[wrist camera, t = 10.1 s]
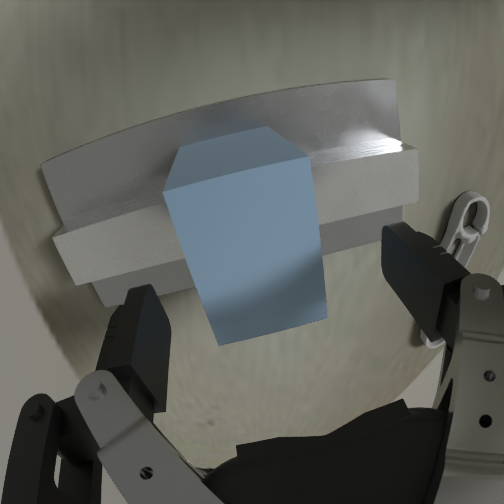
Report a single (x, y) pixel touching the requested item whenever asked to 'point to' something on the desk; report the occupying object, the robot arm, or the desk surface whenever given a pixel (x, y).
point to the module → (249, 232)
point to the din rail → (215, 125)
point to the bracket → (463, 236)
